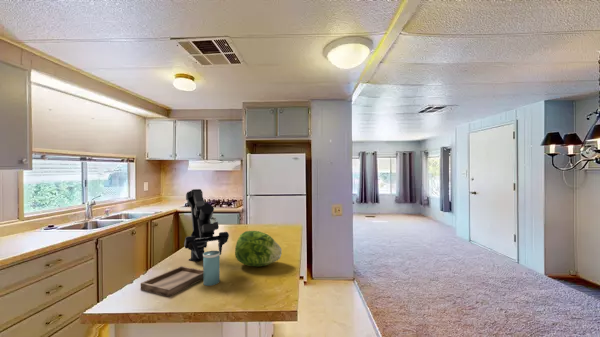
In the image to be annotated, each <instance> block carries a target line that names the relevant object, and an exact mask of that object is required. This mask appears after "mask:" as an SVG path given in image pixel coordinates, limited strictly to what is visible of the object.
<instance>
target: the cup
mask: <svg viewBox="0 0 600 337" xmlns="http://www.w3.org/2000/svg"><path fill="white" fill-rule="evenodd" d="M220 258H221V255H220V252H219V250H208V251H204V253H203V260H202V261H203V262H202V268H203V269H202V270H203V279H202V281H203V282H202V284H203V285H204V286H206V287H210V286H215V285H218V284H219V283H220V279H221V278H220V267H221V266H220Z"/></svg>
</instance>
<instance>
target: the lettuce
mask: <svg viewBox="0 0 600 337" xmlns="http://www.w3.org/2000/svg"><path fill="white" fill-rule="evenodd" d="M234 253H235V254H234V255H235V256H234V257H235V258H236V260H237V261H238V262H239V263H241V264H243V265H245V266H248V267H249V266H250V267H265V266H268V265H271V264H273V263H276V262H277V261H279V260H280V258H281V257H282V247H281V246H280V244H279V243H278V242H276V241H275V239H274V238H273V237H272V236H271V235H269V234H268V233H264V232H262V231H257V230H246V231H244V232H242V233H241V234H239V237H238V239H237V241H236V244H235V251H234Z"/></svg>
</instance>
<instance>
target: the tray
mask: <svg viewBox="0 0 600 337" xmlns="http://www.w3.org/2000/svg"><path fill="white" fill-rule="evenodd" d="M200 281H203V269H198V268H194V267H188V266H182V265H180V266H178V267H177V268H173V269H172V270H169V271H167V272H164V273H161V274H159V275H157V276H155V277H152V278H150V279H147V280H145V281H143V282H140V291H141V290H142V291H145V292H148V293H154V294H156V295H162V296H165V297H168V298H169V297H171V296H173V295H175V294H176V293H178V292H179V293H180V292H181V291H182V290H184V289H186V288H189V287H191V286H192V285H195V284H196V283H198V282H200Z"/></svg>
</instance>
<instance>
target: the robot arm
mask: <svg viewBox="0 0 600 337" xmlns="http://www.w3.org/2000/svg"><path fill="white" fill-rule="evenodd" d="M203 193H204V192H203V191H202V189H200V188H195V189H191V190H189V191H187V192H186V194H185V200H186V201H187V205H188V206H189V207H190V212H191V223H192V224H191V225H192V226H191V227H192V233H191V234H190V235H188V236H186V237H185V239H184V249H187V250H190V257H189V259H188V261H193V262H200V261H203V253H204V252H205V248H207V247H208V242H215V241H217V245H218V246H217V247H218V251H219V252H220V256H221V255H222V251H223V245H225V244H226V243H228V242H229V241H228V240H229V237H230V234H229V232H227V231H222V232H219V233H218V235H215V231H216V230H219V226H220V225H219V222H218V221H215V222H213V223H212V222H211V220H212V218H213V215H214V210H215V207H214V206H213V205H211V204H209V202H207V201H205V200H204V197H203Z"/></svg>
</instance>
